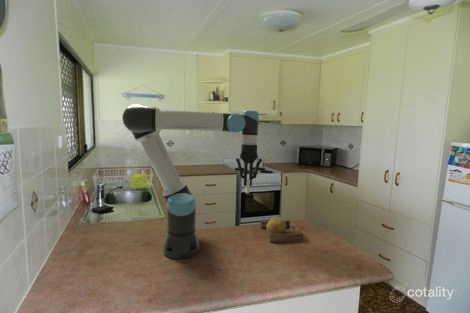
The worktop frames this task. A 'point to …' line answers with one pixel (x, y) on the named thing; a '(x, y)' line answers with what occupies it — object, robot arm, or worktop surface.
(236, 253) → the worktop surface
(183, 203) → the robot arm
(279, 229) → the potato
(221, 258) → the worktop surface
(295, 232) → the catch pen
